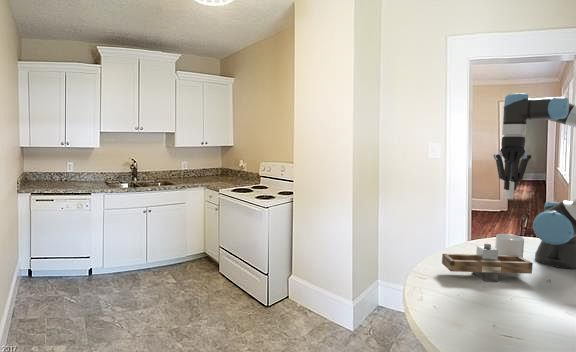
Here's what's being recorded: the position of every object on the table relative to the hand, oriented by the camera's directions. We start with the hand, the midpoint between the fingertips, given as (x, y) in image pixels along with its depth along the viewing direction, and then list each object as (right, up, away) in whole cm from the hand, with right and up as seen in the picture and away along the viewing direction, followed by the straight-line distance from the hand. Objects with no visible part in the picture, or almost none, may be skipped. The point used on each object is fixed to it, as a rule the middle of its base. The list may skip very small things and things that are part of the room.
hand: (509, 198), depth 141 cm
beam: (-17, -26, -15) cm, 34 cm away
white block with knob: (-17, -21, -15) cm, 31 cm away
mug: (-2, -25, -2) cm, 25 cm away
